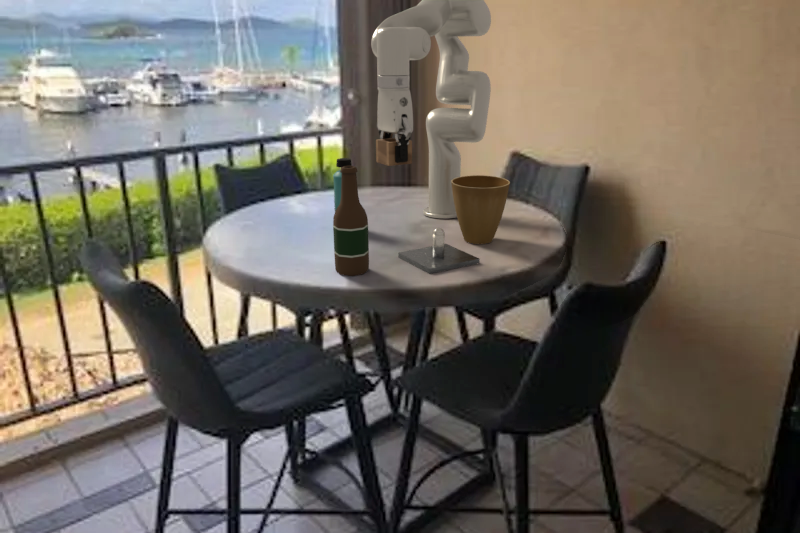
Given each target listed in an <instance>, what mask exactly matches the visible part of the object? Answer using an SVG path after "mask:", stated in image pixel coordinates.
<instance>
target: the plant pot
mask: <svg viewBox="0 0 800 533" xmlns="http://www.w3.org/2000/svg"><path fill="white" fill-rule="evenodd" d="M451 184H452V192H453V199H454V205H455V210H456V214H457V218H456V219H457V222H458V225H459V228H460V232H461V234H462V236H463V239H464V242H466V243H468V242H469V243H468V244H471V243H473V245H487V244H490V243H492V242H493V240H494V238H495V235H496V233H497V232H498V229H499V225H500V223H501V220H502V217H503V214H504V210H505V208H506V202H507V198H508V193H509V189H510V184H511V182H510V180H508V179H506V178H504V177H500V176H495V175H485V174H482V175H479V174H478V175H477V174H473V175H464V176H460V177H457V178H454V179H453V180H452V181H451ZM486 243H487V244H486Z"/></svg>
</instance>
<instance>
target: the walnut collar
mask: <svg viewBox="0 0 800 533" xmlns="http://www.w3.org/2000/svg"><path fill="white" fill-rule="evenodd" d="M395 146H397V143H396V139H395V137H392V138H388V139H380V138H379V139H376V140H375V154H376V155H375V158H376V160H375V161H376V163H377V164H382V165H385V166H387V167H393V166H401V165H402V166H403V165H412V164H413V140H411V139H410V140H409V145H408V161H407V162H400V163H397V162H395Z"/></svg>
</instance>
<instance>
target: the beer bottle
mask: <svg viewBox="0 0 800 533" xmlns="http://www.w3.org/2000/svg"><path fill="white" fill-rule="evenodd" d="M340 172H341V173H342V179H341V200H340V204H339V206H338V208H337V209H336V211H335V210H334V214H333V220H332V223H333V224H332V227H333V229H332V230H333V231H332V233H333V248H334V249H333V251H334V267H335V271H336V272H337V274H339V275H340V276H346V277H355V276H362V275H365V273H367V272H368V271H369V268H370V266H369V265H370V250H369V244H370V243H369V222H368V221H369V219H368V215H367V213H366V209H365V208H364V206H363V205H362V204H361V202H360V198H359V189H358V180H357V177H358V176H357V173H358V168H357V166H354V165H352V166H344V167H340Z"/></svg>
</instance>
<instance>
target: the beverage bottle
mask: <svg viewBox="0 0 800 533" xmlns="http://www.w3.org/2000/svg"><path fill="white" fill-rule="evenodd" d="M352 164H353V163H352V159H351V158H349V157H342V158H337V159H336V168H341V167H344V166H353V165H352ZM340 170H341V169H340ZM340 170H336V172H334V173H333V175H332V178H333V196H334V197H333V199H334V200H333V202H334V212H335V211H336V209H337V208H338V206H339V204H340V200H341V179H342V173H341V172H340Z"/></svg>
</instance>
